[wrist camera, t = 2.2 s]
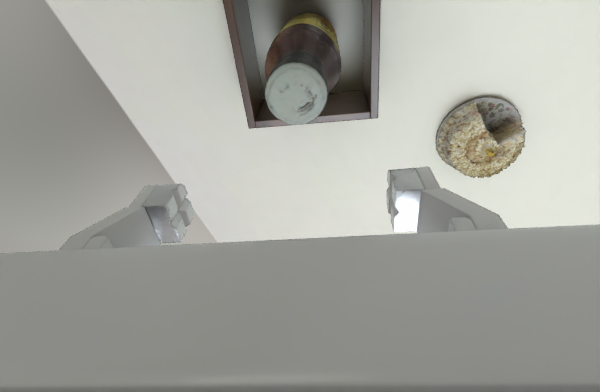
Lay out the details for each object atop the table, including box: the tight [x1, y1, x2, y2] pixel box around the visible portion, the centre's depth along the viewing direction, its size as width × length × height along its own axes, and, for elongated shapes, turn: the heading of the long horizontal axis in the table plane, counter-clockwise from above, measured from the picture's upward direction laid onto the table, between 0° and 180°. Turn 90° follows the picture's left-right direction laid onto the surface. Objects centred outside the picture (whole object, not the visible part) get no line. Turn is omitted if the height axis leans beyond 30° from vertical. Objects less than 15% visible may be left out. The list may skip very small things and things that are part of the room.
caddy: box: [223, 0, 381, 128], centre depth 35 cm, size 14×14×7 cm
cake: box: [436, 97, 526, 178], centre depth 42 cm, size 10×10×5 cm
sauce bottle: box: [265, 13, 341, 125], centre depth 30 cm, size 7×6×20 cm
